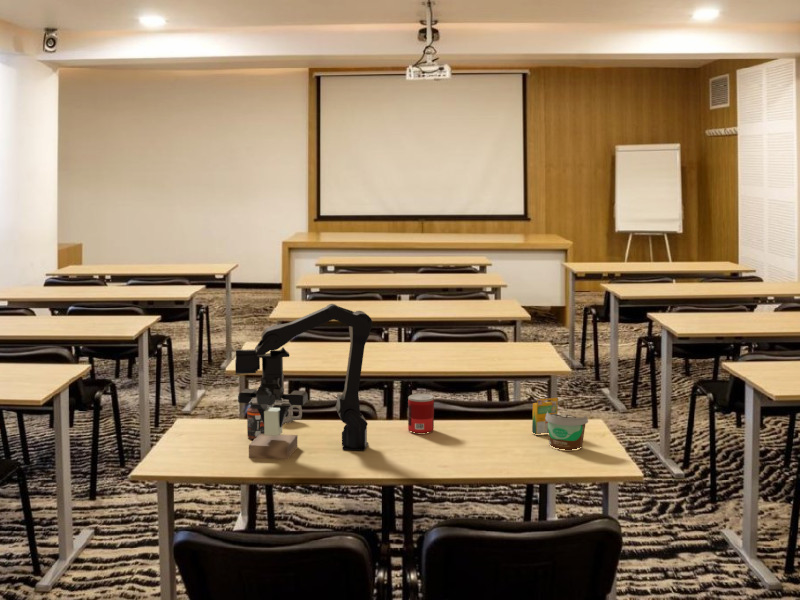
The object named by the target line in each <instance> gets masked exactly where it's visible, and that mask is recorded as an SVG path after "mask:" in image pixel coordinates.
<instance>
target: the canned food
mask: <svg viewBox="0 0 800 600" xmlns="http://www.w3.org/2000/svg"><path fill="white" fill-rule="evenodd" d="M407 399H408V401H407V403H408V404H407V406H408V409H407V417H408V418H407V427H408V428H407V429H408V432H409V431H412V432H415V433H427V432H431V431H434V428H435V427H434V421H435V420H434V419H435V417H434V416H435V397H434V395H432V394H428V393H414V394H410V395H409V396H408V397H407ZM431 433H432V432H431Z"/></svg>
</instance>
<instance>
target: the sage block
mask: <svg viewBox="0 0 800 600" xmlns="http://www.w3.org/2000/svg"><path fill="white" fill-rule="evenodd" d="M279 422H280V408H272V407H268V406H267V409H266V410H265V411H264V434H265V436H279V435H280V434H282V433H283V426H282V427H280V423H279Z"/></svg>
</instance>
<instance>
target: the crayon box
mask: <svg viewBox="0 0 800 600" xmlns="http://www.w3.org/2000/svg"><path fill="white" fill-rule="evenodd" d="M558 401H559V398H558V397H550V398H547V397H546V398H538V399H537V400H536V402H534V403H532V425H531V426H532V429H531V432H533V433H535V434H541V433H549V432H548V421H547V420H546V419H545V417H546V413H547V411H548V413H549V414H553V415H558V409H559V408H558V405H559V403H558Z"/></svg>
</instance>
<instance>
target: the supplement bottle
mask: <svg viewBox="0 0 800 600" xmlns="http://www.w3.org/2000/svg"><path fill="white" fill-rule="evenodd" d="M251 404H252V399H251V401H250V402H249V405H250V406H249V407H248V408H247V411H246V413H247V416H246V417H247V418H246V419H247V420H246V423H247V429H246V430H247V438H248V439H250V440H254V439H255V438H256V437H257V436H258V435H259V434H260V433H262V434H264V423H263V420H262V418H261V415H260V413H259V411H258V409H257V408H256V407H255V406H252V405H251Z"/></svg>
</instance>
